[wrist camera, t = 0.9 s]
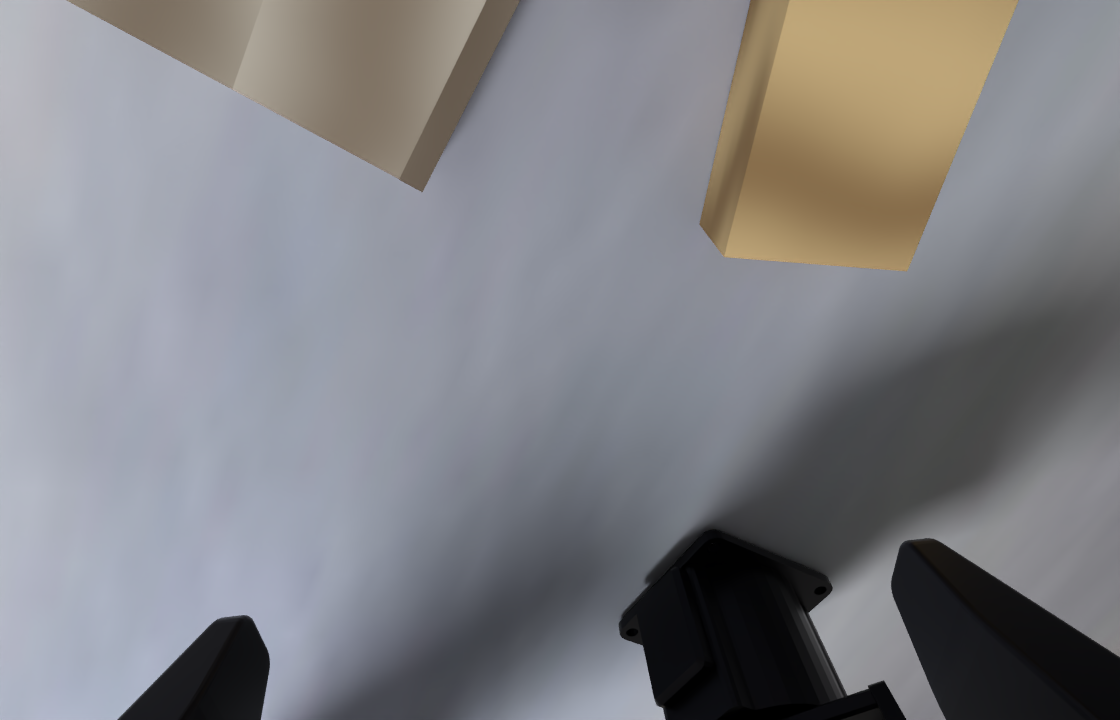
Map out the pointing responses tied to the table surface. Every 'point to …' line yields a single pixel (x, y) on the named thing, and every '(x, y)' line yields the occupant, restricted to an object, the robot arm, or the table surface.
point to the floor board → (336, 63)
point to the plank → (846, 126)
